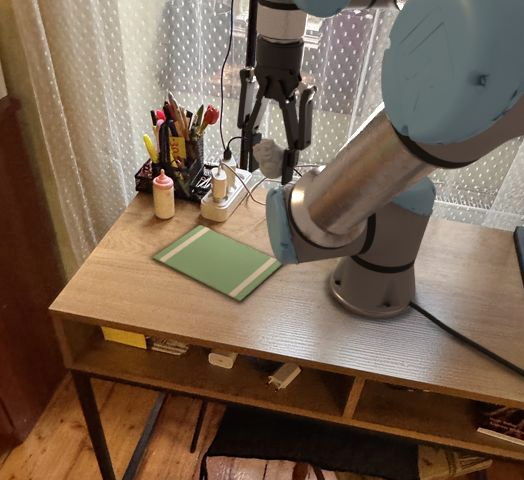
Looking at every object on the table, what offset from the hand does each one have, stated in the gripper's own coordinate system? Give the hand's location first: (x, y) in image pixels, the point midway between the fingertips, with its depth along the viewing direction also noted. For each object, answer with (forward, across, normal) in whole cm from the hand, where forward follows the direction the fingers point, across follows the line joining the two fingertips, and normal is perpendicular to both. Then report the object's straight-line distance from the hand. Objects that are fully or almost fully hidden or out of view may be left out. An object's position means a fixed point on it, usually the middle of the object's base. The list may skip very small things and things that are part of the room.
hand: (270, 175), depth 99 cm
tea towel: (+13, +2, +12) cm, 18 cm away
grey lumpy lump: (+1, 0, 0) cm, 1 cm away
